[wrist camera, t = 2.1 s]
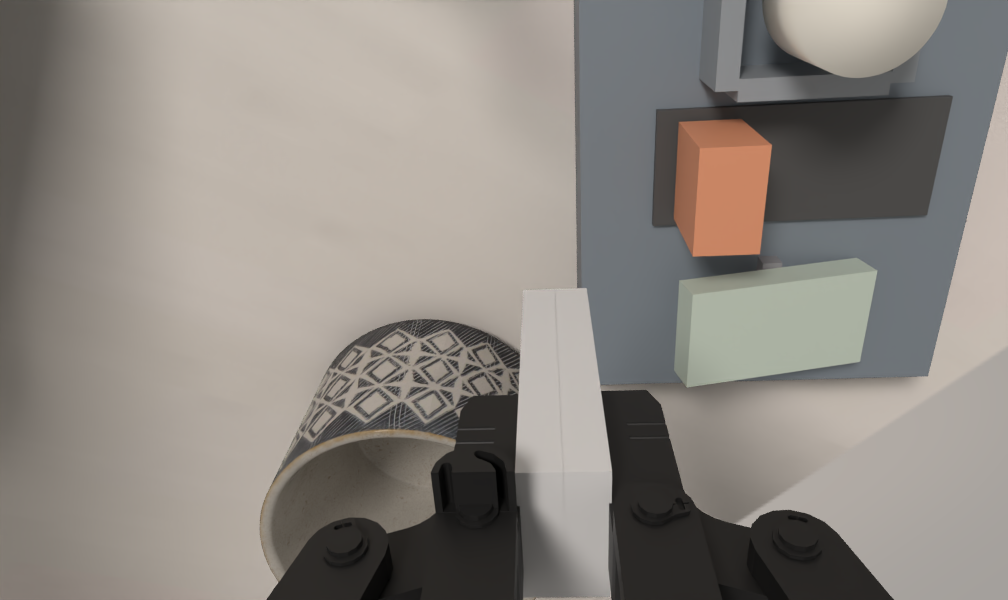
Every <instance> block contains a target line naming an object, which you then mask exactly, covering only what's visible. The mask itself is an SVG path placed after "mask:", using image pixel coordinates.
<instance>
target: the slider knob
mask: <svg viewBox="0 0 1008 600" xmlns="http://www.w3.org/2000/svg"><path fill="white" fill-rule="evenodd" d="M771 149H772V145H771V144H770V143H769V142H768V141H767V140H765V139H764V138H763V137H762V136H761V135H760V134H758V133H757V132H756V131H755V130H754V129H753V128H751V127H750V126H749V125H748V124H747V123H746V122H744V121H743V120H742V119H729V120H708V121H687V122H679V128H678V147H677V166H676V185H675V204H674V220H675V222H676V224H677V226H678V228H679V230H680V232H681V234H682V236H683V238H684V240H685V242H686V244H687V246H688V248H689V250H690V252H691V254H692V256H693V257H697V256H724V255H752V254H760V248H761V239H762V230H763V221H764V212H765V203H766V194H767V185H768V176H769V167H770V158H771Z"/></svg>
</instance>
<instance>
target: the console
mask: <svg viewBox="0 0 1008 600" xmlns="http://www.w3.org/2000/svg"><path fill="white" fill-rule="evenodd" d="M574 51H575V133H576V215H577V288H587V294H588V302H589V309H590V316H591V323H592V330H593V337H594V345H595V352H596V359H597V366H598V373H599V381H600V385H609V384H647V383H683V382H682V381H681V379H680V378H679V377H678V375H677V374H676V373H675V371H674V363H675V346H676V328H677V311H678V294H679V280H687V279H695V278H703V277H710V276H718V275H726V274H734V273H742V272H749V271H757V270H765V269H773V268H781V267H788V266H796V265H804V264H812V263H820V262H827V261H835V260H843V259H851V258H858V259H860V260H861V261H863V262H865V263H866V264H868V265H869V266H871V267H873V268H874V269H876V270H877V276H876V281H875V286H874V291H873V297H872V302H871V307H870V312H869V317H868V322H867V328H866V333H865V338H864V343H863V348H862V353H861V359H860V362H856V363H849V364H842V365H836V366H829V367H822V368H816V369H809V370H802V371H795V372H789V373H782V374H775V375H768V376H762V377H755V378H748V379H741V380H735V381H762V380H801V379H839V378H877V377H916V376H928V373H929V369H930V365H931V361H932V357H933V353H934V349H935V345H936V341H937V337H938V333H939V329H940V325H941V320H942V316H943V312H944V308H945V304H946V300H947V296H948V292H949V288H950V284H951V280H952V276H953V272H954V268H955V264H956V259H957V255H958V251H959V247H960V243H961V239H962V235H963V231H964V227H965V223H966V219H967V215H968V211H969V207H970V203H971V198H972V194H973V190H974V186H975V182H976V178H977V174H978V170H979V166H980V162H981V158H982V154H983V150H984V146H985V141H986V137H987V133H988V129H989V125H990V121H991V117H992V113H993V109H994V105H995V101H996V97H997V93H998V89H999V85H1000V80H1001V76H1002V72H1003V68H1004V64H1005V60H1006V56H1007V52H1008V0H948V1H947V5H946V9H945V11H944V14H943V16H942V19H941V21H940V23H939V25H938V26H937V28H936V30H935V31H934V33H933V34H932V36H931V37H930V39H929V40H928V41H927V42H926V43H925V45H924V46H923V47H922V48H921V49H920V50H919V51H918V52H917V53H916V54H915V55H913V56H912V57H911V58H910V59H908V60H907V61H906V62H904V63H903V64H901V65H900V66H898V67H896V68H894V69H892V70H890V71H888V72H885V73H882V74H880V75H876V76H871V77H865V78H849V77H842V76H839V75H835V74H833V73H830V72H828V71H826V70H823V69H821V68H819V67H817V66H814V65H812V64H810V63H808V62H805V61H803V60H801V59H798V58H796V57H794V56H792V55H790V54H788V53H786V52H785V51H784V50H782V49H781V48H780V47H779V46H778V45H777V44H776V43H775V42H774V40H773V39H772V38H771V36H770V34H769V32H768V30H767V28H766V25H765V22H764V17H763V10H762V0H574ZM729 119H742V120H743V121H744V122H746V123H747V124H748V125H749V126H750V127H751V128H753V129H754V130H755V131H756V132H757V133H758V134H760V135H761V136H762V137H763V138H764V139H765V140H767V141H768V142H769V143H770V144H771V145H772V149H771V158H770V167H769V176H768V185H767V194H766V203H765V212H764V221H763V230H762V239H761V248H760V254H752V255H724V256H697V257H693V256H692V254H691V252H690V250H689V248H688V246H687V244H686V242H685V240H684V238H683V236H682V234H681V232H680V230H679V228H678V226H677V224H676V222H675V220H674V204H675V185H676V166H677V147H678V128H679V122H687V121H708V120H729Z"/></svg>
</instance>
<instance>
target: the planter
mask: <svg viewBox="0 0 1008 600" xmlns="http://www.w3.org/2000/svg"><path fill="white" fill-rule="evenodd" d="M519 372H520V357H519V356H518V355H517V354H516V353H515V352H514V351H513V350H511V349H510V348H509V347H508V346H506V345H505V344H503V343H502V342H500V341H499V340H497V339H496V338H494V337H492V336H490V335H488V334H486V333H484V332H482V331H480V330H477V329H475V328H472V327H469V326H466V325H463V324H459V323H454V322H449V321H442V320H428V319H422V320H408V321H402V322H397V323H393V324H389V325H386V326H383V327H380V328H377V329H375V330H373V331H370V332H368V333H367V334H365V335H363V336H361V337H360V338H358V339H356V340H355V341H354V342H352V343H351V344H350V345H348V346H347V347H346V348H345V349H344V350H343V351H342V352H341V353H340V354H339V355H338V356H337V357H336V358H335V360H334V361H333V362H332V364H331V365H330V367H329V368H328V370H327V372H326V374H325V376H324V378H323V380H322V382H321V384H320V386H319V388H318V390H317V392H316V394H315V396H314V398H313V400H312V402H311V405H310V407H309V409H308V411H307V413H306V415H305V417H304V419H303V421H302V423H301V425H300V427H299V429H298V431H297V433H296V435H295V437H294V439H293V441H292V444H291V446H290V448H289V450H288V452H287V454H286V456H285V458H284V460H283V462H282V464H281V466H280V468H279V470H278V472H277V474H276V476H275V478H274V481H273V483H272V485H271V487H270V489H269V491H268V493H267V495H266V497H265V500H264V503H263V507H262V510H261V517H260V538H261V544H262V548H263V552H264V555H265V557H266V560H267V563H268V565H269V567H270V569H271V571H272V572H273V574H274V576H275V577H276V579H277V580H278V582H279V581H280V580H281V578H282V577H283V575H284V574H285V573H286V571H287V570H288V568H289V567H290V565H291V564H292V563H293V561H294V560H295V558H296V557H297V556H298V554H299V553H300V551H301V550H302V548H303V547H304V546H305V544H306V543H307V541H308V540H309V539H310V538H311V537H312V536H313V535H314V534H315V533H316V532H317V531H318V530H319V529H321V528H323V527H324V526H326V525H328V524H330V523H332V522H334V521H337V520H341V519H345V518H349V517H351V518H367V519H370V520H372V521H375V522H378V523H379V524H380V525H381V526H382V527H383V528H384V529H385V530H386V533H391V532H394V531H398V530H402V529H406V528H409V527H412V526H414V525H417V524H420V523H421V522H423V521H425V520H427V519H428V518H430V517H431V516H432V515H433V514H435V513H436V512H435V504H434V496H433V489H432V481H431V471H432V469H433V467H434V465H435V463H436V462H437V461H438V460H439V459H440V458H441V457H443V456H444V455H445V454H446V453H449V452H451V451H454V447H455V444H456V435H457V431H458V423H459V417H460V411H461V410H462V408H463V407H464V406H465V405H466V404H467V402H468V401H469V400H470V399H471V398H472V397H473V396H485V395H518V394H519ZM535 599H536V597H533V598H523V600H535Z"/></svg>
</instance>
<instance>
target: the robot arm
mask: <svg viewBox="0 0 1008 600" xmlns="http://www.w3.org/2000/svg"><path fill="white" fill-rule="evenodd" d="M431 481H432V489H433V496H434V504H435V512H436V513H435V514H433V515H432V516H431V517H430V518H428V519H427V520H425V521H423V522H421V523H420V524H417V525H414V526H412V527H409V528H406V529H402V530H398V531H394V532H391V533H386V530H385V529H384V528H383V527H382V526H381V525H380V524H379V523H378V522H375V521H372V520H370V519H367V518H351V517H349V518H345V519H341V520H337V521H334V522H332V523H330V524H328V525H326V526H324V527H323V528H321V529H319V530H318V531H317V532H316V533H315V534H314V535H313V536H312V537H311V538H310V539H309V540H308V541H307V543H306V544H305V546H304V547H303V548H302V550H301V551H300V553H299V554H298V556H297V557H296V558H295V560H294V561H293V563H292V564H291V565H290V567H289V568H288V570H287V571H286V573H285V574H284V575H283V577H282V578H281V580H280V581H279V583H278V584H277V585H276V587H275V588H274V590H273V591H272V593H271V594H270V595H269V597H268V598H267V600H523V598H533V597H610V594H611V598H612V600H894V599H893V598H892V597H891V596H890V595H889V594H888V592H887V591H886V590H885V589H884V588H883V587H882V585H881V584H880V583H879V582H878V581H877V579H876V578H875V577H874V576H873V575H872V574H871V572H870V571H869V570H868V569H867V568H866V567H865V565H864V564H863V563H862V562H861V561H860V559H859V558H858V557H857V556H856V555H855V554H854V552H853V551H852V550H851V549H850V548H849V546H848V545H847V544H846V543H845V542H844V540H843V539H842V538H841V537H840V536H839V535H838V533H837V532H835V531H834V530H833V529H832V528H831V527H830V526H828V525H827V524H826V523H825V522H823V521H821V520H819V519H817V518H815V517H813V516H811V515H809V514H806V513H801V512H797V511H792V510H780V511H772V512H769V513H766V514H764V515H761V516H759V518H758V519H757V520H756V521H755V522H754V523H753V524H752V527H751V528H749V527H744V526H740V525H736V524H732V523H728V522H724V521H721V520H718V519H715V518H713V517H711V516H709V515H707V514H705V513H703V512H702V511H700V510H699V509H698V508H697V507H696V506H695V504H694V502H693V501H692V499H691V498H690V497H689V496H688V495H687V494H685V492H684V490H683V486H682V483H681V479H680V475H679V471H678V467H677V464H676V460H675V456H674V452H673V449H672V445H671V441H670V439H669V434H668V430H667V426H666V425H665V418H664V415H663V411H662V407H661V404H660V403H659V402H658V401H657V400H656V399H655V398H654V397H653V396H652V395H651V394H650V393H649V392H648V391H647V390H629V391H601V388H600V381H599V373H598V366H597V359H596V352H595V345H594V337H593V330H592V323H591V316H590V309H589V302H588V294H587V288H569V289H538V290H523V306H522V328H521V350H520V372H519V394H518V395H485V396H473V397H472V398H471V399H470V400H469V401H468V402H467V404H466V405H465V406H464V407H463V408H462V410H461V411H460V417H459V423H458V431H457V435H456V444H455V447H454V451H451V452H449V453H446V454H445V455H444V456H443V457H441V458H440V459H439V460H438V461H437V462H436V463H435V465H434V467H433V469H432V471H431Z"/></svg>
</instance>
